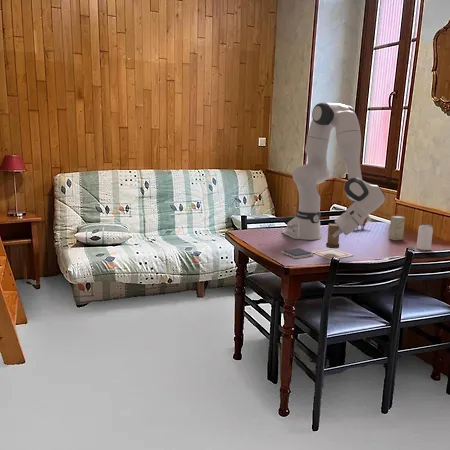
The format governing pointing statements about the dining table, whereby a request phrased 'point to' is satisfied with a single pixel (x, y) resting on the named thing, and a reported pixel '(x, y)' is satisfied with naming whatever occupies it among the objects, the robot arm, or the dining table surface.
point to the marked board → (331, 253)
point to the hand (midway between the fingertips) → (332, 234)
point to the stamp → (331, 240)
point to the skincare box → (396, 228)
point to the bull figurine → (365, 222)
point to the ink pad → (297, 253)
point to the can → (424, 237)
